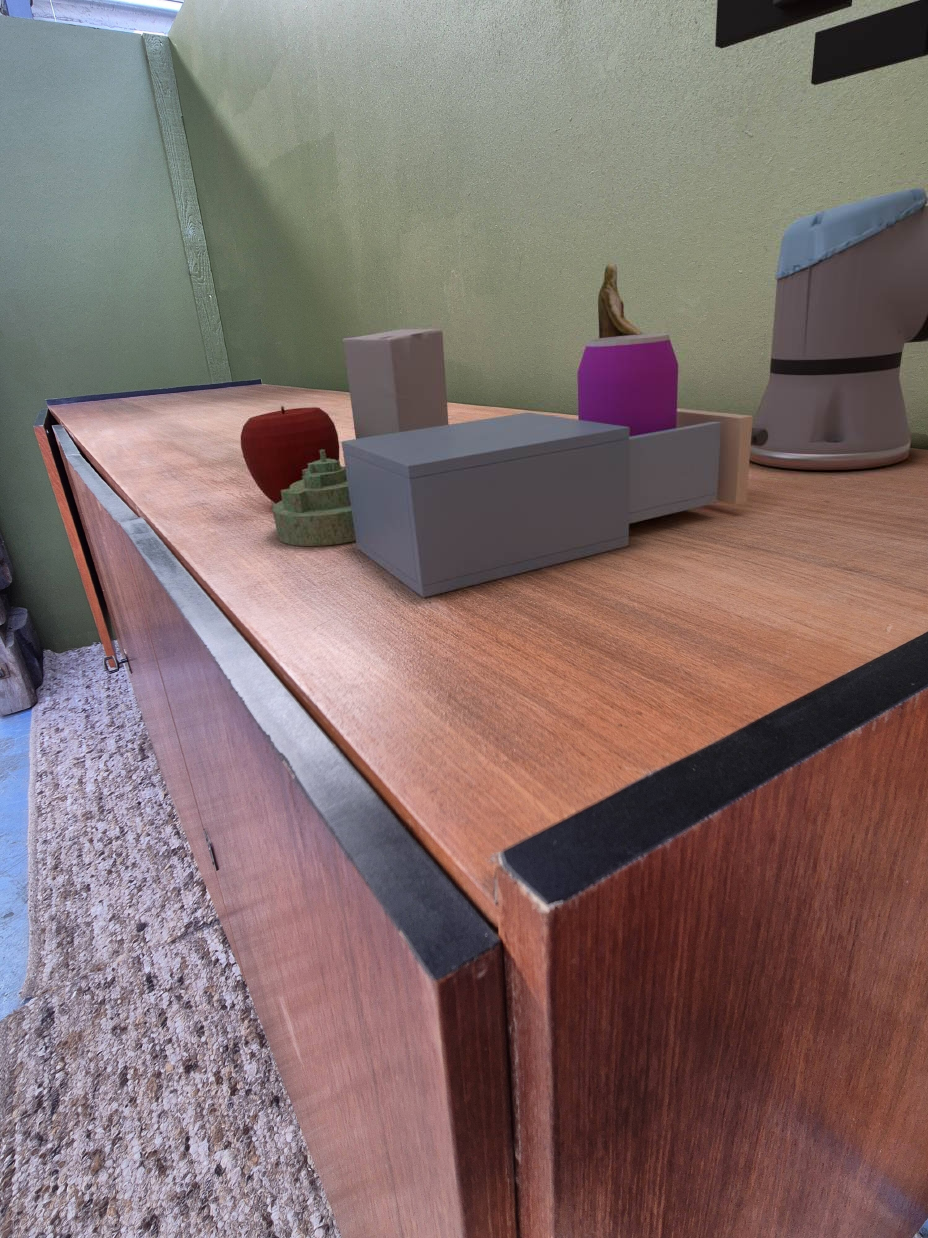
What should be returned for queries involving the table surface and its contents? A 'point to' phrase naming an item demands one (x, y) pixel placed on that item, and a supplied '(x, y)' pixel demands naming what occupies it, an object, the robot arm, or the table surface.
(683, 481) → the drawer
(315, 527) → the decorative artifact
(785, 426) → the robot arm
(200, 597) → the table surface
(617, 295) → the figurine
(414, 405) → the cosmetic box
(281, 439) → the apple
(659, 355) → the beverage can
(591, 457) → the cabinet
